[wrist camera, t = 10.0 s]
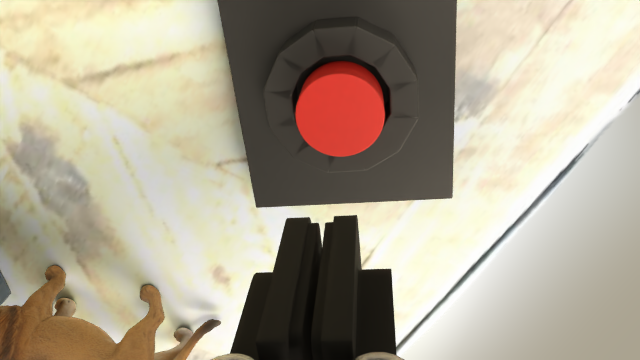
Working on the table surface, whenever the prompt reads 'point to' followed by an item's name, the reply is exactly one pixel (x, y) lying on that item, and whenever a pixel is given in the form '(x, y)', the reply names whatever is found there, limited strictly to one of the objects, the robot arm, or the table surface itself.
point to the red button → (340, 109)
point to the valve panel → (3, 290)
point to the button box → (373, 54)
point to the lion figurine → (84, 330)
